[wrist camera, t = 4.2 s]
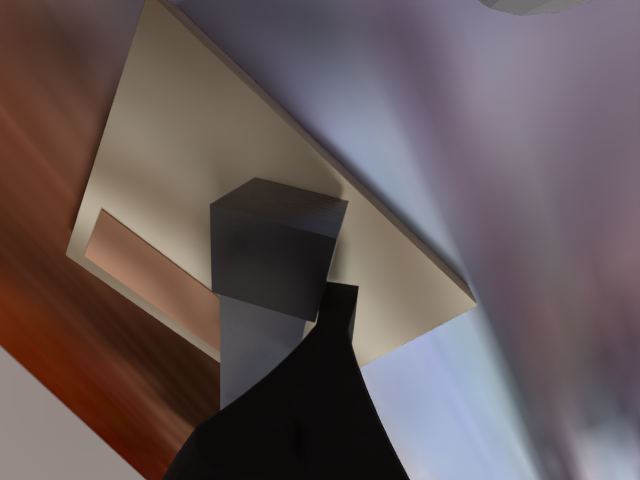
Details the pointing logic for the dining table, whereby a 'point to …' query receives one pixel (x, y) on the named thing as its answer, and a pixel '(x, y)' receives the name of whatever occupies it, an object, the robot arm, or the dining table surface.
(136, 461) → the dining table surface
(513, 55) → the dining table surface
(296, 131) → the board
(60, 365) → the dining table surface
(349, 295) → the robot arm
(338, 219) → the leg
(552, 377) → the dining table surface
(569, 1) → the coffee cup
